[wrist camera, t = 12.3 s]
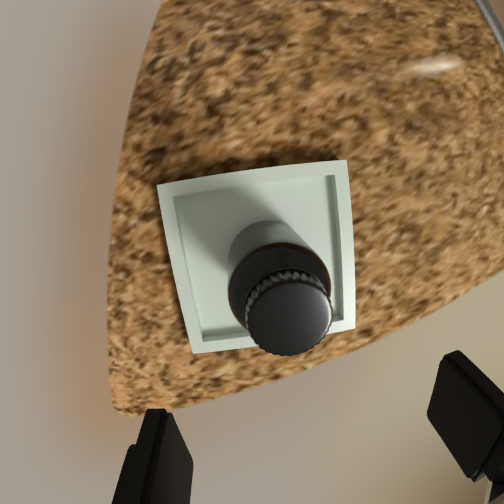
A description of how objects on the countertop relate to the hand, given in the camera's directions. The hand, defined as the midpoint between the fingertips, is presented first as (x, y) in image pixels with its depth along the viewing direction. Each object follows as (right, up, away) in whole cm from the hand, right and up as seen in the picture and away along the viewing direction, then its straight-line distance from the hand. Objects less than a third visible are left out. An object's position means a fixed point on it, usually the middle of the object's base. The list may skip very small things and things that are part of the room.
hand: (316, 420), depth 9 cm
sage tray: (-1, +5, +19) cm, 20 cm away
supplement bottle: (-1, +5, +19) cm, 20 cm away
